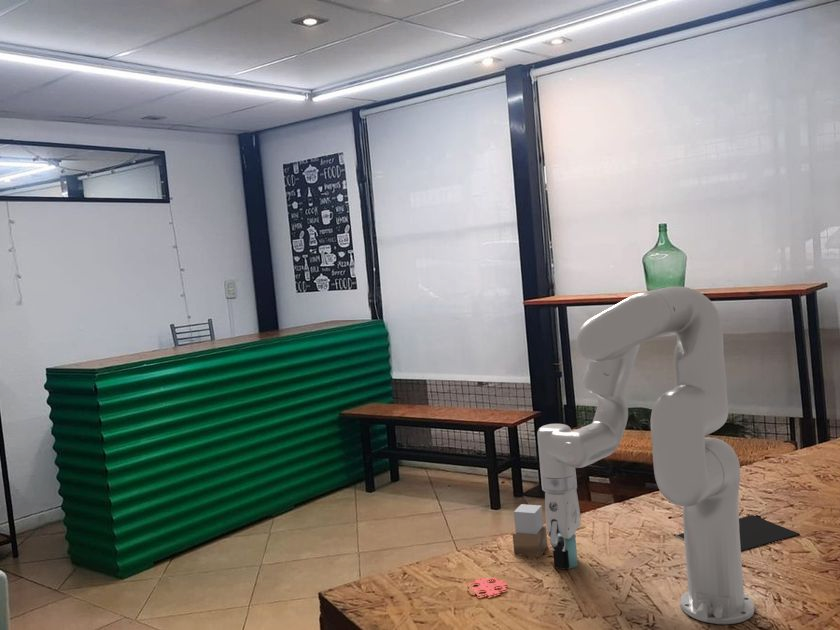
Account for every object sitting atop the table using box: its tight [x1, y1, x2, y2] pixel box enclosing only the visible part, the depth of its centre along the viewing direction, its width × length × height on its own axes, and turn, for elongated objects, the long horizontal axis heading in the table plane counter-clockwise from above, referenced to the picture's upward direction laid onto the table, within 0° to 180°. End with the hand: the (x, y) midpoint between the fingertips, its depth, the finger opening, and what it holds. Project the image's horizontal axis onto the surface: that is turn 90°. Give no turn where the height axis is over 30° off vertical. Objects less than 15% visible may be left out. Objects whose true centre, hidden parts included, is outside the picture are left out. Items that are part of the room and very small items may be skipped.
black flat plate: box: [673, 514, 801, 552], centre depth 164 cm, size 23×1×15 cm
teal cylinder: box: [558, 533, 579, 570], centre depth 158 cm, size 5×5×6 cm
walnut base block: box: [511, 525, 548, 558], centre depth 167 cm, size 6×6×5 cm
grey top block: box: [513, 503, 544, 535], centre depth 167 cm, size 5×5×5 cm
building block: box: [467, 576, 508, 598], centre depth 150 cm, size 1×8×8 cm
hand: (565, 561), depth 158 cm, fingers closed on teal cylinder, 4 cm apart
